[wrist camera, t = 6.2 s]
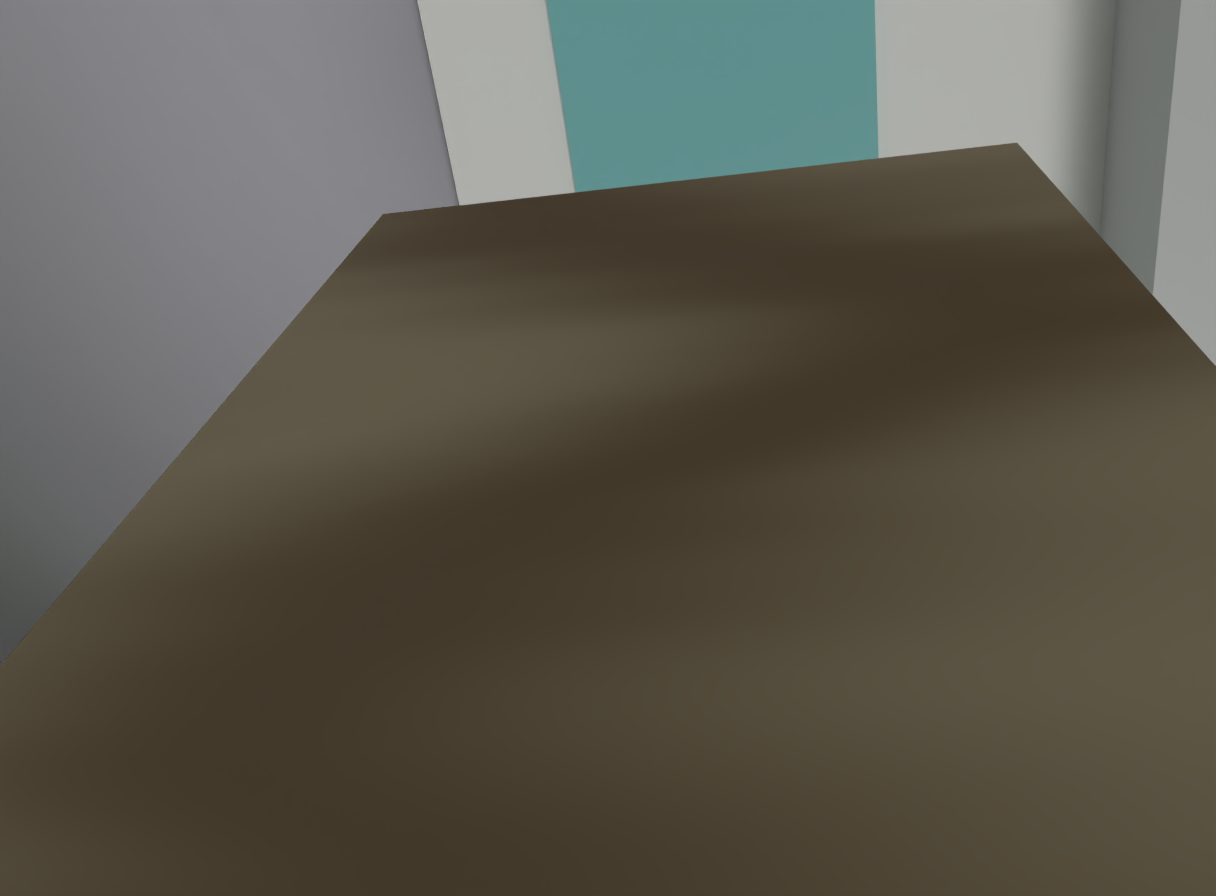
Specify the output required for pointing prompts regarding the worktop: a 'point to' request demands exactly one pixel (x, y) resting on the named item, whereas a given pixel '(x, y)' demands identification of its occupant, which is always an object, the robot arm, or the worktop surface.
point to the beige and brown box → (662, 568)
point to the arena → (850, 103)
